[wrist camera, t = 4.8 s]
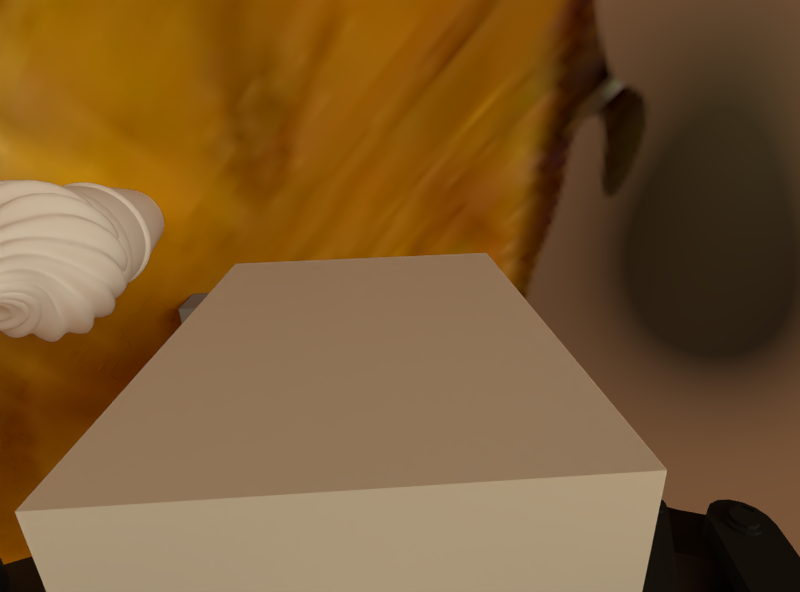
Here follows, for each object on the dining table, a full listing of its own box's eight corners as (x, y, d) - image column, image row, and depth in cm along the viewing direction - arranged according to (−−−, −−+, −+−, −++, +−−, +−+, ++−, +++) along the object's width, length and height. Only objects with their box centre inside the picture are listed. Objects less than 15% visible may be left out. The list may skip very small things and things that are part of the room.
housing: (267, 469, 20) (152, 863, 9) (235, 263, 17) (14, 511, 6) (479, 455, 20) (595, 820, 10) (486, 253, 17) (666, 470, 7)
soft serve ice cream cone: (107, 287, 37) (-71, 408, 22) (47, 179, 34) (-206, 231, 19) (212, 255, 36) (105, 355, 21) (162, 143, 33) (-3, 167, 18)
